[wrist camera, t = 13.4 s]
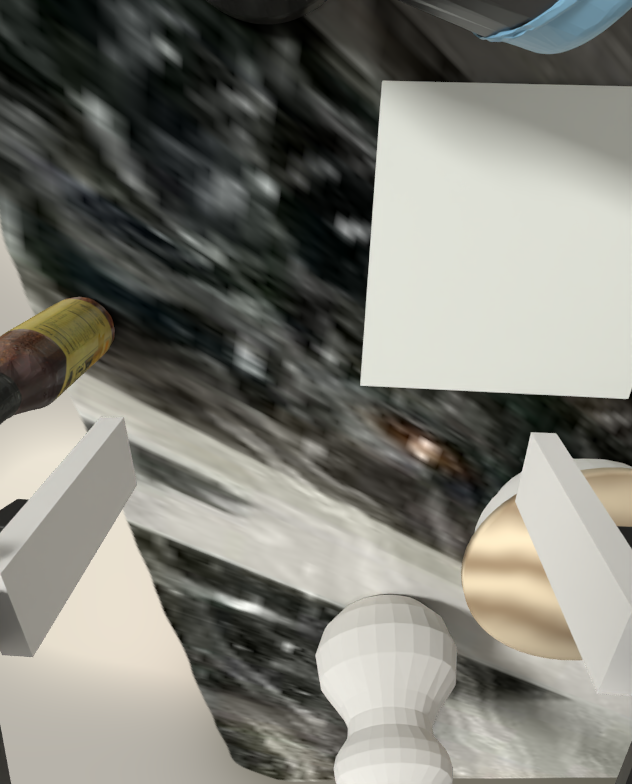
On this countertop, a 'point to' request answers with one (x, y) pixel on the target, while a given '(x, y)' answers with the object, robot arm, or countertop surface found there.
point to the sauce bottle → (51, 353)
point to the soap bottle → (388, 689)
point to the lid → (529, 573)
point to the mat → (501, 240)
